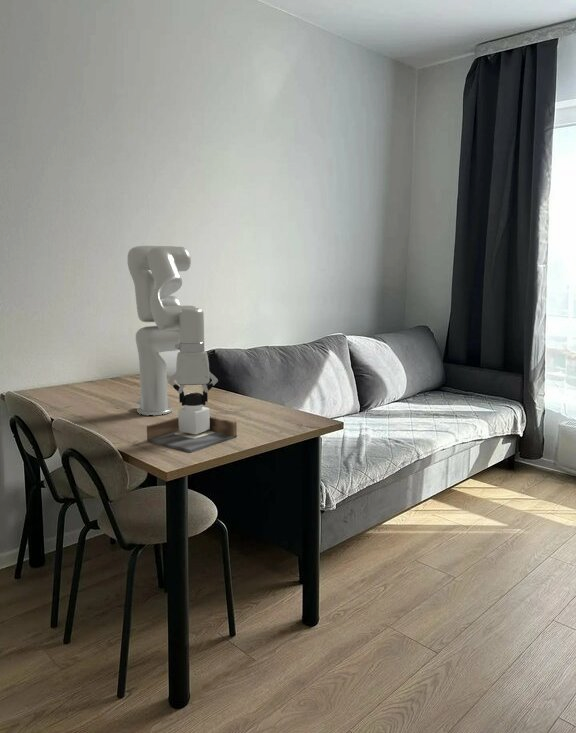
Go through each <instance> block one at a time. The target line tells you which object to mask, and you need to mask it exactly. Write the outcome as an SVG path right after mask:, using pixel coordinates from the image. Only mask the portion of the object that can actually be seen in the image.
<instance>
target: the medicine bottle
mask: <svg viewBox="0 0 576 733" xmlns="http://www.w3.org/2000/svg"><path fill="white" fill-rule="evenodd" d="M177 413H178V414H177V415H178V420H179V431H180V432H185V433H191V434H198V433H201V432H204V431H207V430H209V429H210V407H205V406H204V405H203V393H200V392H188V393H186V394H185V393H184V406H183V408H179V409H178V410H177Z"/></svg>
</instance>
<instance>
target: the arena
mask: <svg viewBox="0 0 576 733" xmlns="http://www.w3.org/2000/svg"><path fill="white" fill-rule="evenodd" d="M237 429H238V428H237V421H234V420H230V419H225V418H220V417H214V416H210V429H209V430H207V431H204V432H201V433H198V434H191V433H185V432H180V431H179V420H178V417H174V418H171V419H167V420H163V421H160V422H155V423H151V424H148V425H146V438H147V439H146V441H147V442H148V443H151V444H156V445H159V446H164V447H167V448H172V449H176V450H180V451H182V452H187V453H193V452H194V453H195V452H196V451H200V450H203V449H206V448H209V447H211V446H212V447H213V446H215V445H217V444H220V443H223V442H226V441H229V440H232V439H235V438H237V437H238V435H237V432H238V430H237Z"/></svg>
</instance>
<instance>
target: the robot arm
mask: <svg viewBox="0 0 576 733" xmlns="http://www.w3.org/2000/svg"><path fill="white" fill-rule="evenodd" d="M191 261H192V260H191V255H190V252H189V251H188V249H187V248H185V247H184V246H171V245H168V246H167V245H138V246H134V247H131V249H129V251H128V253H127V267H128V271H129V273H130V274H129V275H130V277H131V279H132V281H133V285H134V292H135V301H136V304H135V305H136V312H137V317H138V319H139V320H140V321H141V322H142V323H155V325H150V326H144V327H140V328H139V329H138V330H137V331H136V334H135V343H136V349H137V353H138V363H139V365H138V366H139V379H140V380H139V381H140V382H139V384H140V386H139V387H140V397H139V399H137V400H136V401H135V403H136V405H139V408H137V409H136V412H138V413H139V415H141V414H142V416H149V415H153V416H163V415H167V414H169V413H171V411H172V412H173V408H172V406H170V405H169V403H168V384H169V385H170V386H171V387H173V389H174V390H176V392H177V393H178V394H179V403H180V404H181V406H182V407H184V395H185V392H184V388H185V386H201V387H202V389H203V391H202V395H203V406H206V403H208V399H209V398H208V395H209V394H208V392H209V391H210V390H211V389H212V388H213V387H214V386H215V385H216V384H217V383H218V382H219V379H218V378H217V377H216V375H214V374H213V373H211V371H210V362H209V356H208V352H207V351H205V316H204V313H205V312H204V311H203V309H202V308H200V307H196V306H194V305H182V304H181V301H180V299H178V297H177V296H174V295H173V294H174V293H176V292H178V291H179V290H180V289H181V287H182V286H183V280H182V276H181V275H180V272H187V271H188V270H189V269H190V268H191V265H192V264H191V263H192V262H191ZM175 351H176V352H177V351H179V352H178V353H177V356H176V363H175V364H176V365H175V366H176V368H175V370H176V372H175V373H173V375H172V376H171V377H170V378H169V379H168V378H167V375H168V374H167V372H168V371H167V363H166V361H165V360H164V358H163V357H162V356H161V355H160V353H163V352H164V353H165V352H166V353H167V352H175ZM175 380H176V383H175ZM210 380H211V381H210ZM138 413H137V414H138ZM162 414H163V415H162Z"/></svg>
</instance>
